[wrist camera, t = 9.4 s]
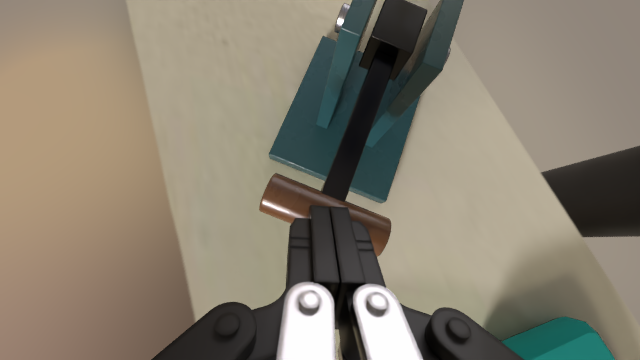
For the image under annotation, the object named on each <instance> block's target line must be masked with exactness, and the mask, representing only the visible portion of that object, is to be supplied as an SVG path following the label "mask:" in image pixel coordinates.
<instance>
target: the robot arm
mask: <svg viewBox="0 0 640 360" xmlns="http://www.w3.org/2000/svg"><path fill="white" fill-rule="evenodd" d="M335 329H339V334H340V344H339V348H338V357H339V360H524V359H523V358H522V357H520V356H519V355H518V354H516V353H515V352H514V351H512V350H511V349H510V348H509V347H507V346H506V345H505V344H503V343H502V342H501V341H499V340H498V339H497V338H496V337H494V336H493V335H492V334H490V333H489V332H488V331H486V330H485V329H484V328H483V327H481V326H480V325H479V324H477V323H476V322H475V321H473V320H472V319H471V318H469V317H468V316H467V315H465V314H464V313H462V312H460V311H458V310H456V309H452V308H439V309H437V310H436V311H435V312H434V313H433V315H429V314H426V313H423V312H419V311H416V310H413V309H411V308H408V307H406V306H404V305H402V304H401V303H399V301H398V299H397V298H396V296H395V295H394V294H393V293H392V292H391V291H390V290H388V289H387V288H386V285H385V282H384V279H383V276H382V273H381V269H380V266H379V263H378V260H377V257H376V253H375V252H374V247H373V244H372V240H371V237H370V234H369V231H368V229H367V228H366V227H365V226H364V225H363V223H362V222H361V221H351V217H350V213H349V209H348V207H333V206H329V207H328V206H316V205H310V206H309V213H308V218H297V217H296V218H295V220H294V221H293V223H292V224H291V225H290V232H289V244H288V255H287V274H286V289H285V291H284V293H283V294H282V296H281V297H280V298H279V299H278V300H276V301H275V302H273V303H271V304H269V305H267V306H264V307H260V308H257V309H254V310H251V309H250V308H249V307H248V306H246V305H244V304H242V303H238V302H228V303H223V304H221V305H218V306H216V307H214V308H213V309H212V310H210V311H209V312H208V313H207V314H205V315H204V316H203V317H202V318H201V319H199V320H198V321H197V322H196V323H195V324H193V325H192V326H191V327H190V328H189V329H187V330H186V331H185V332H184V333H183V334H181V335H180V336H179V337H178V338H177V339H175V340H174V341H173V342H172V343H171V344H169V345H168V346H167V347H166V348H165V349H164V350H162V351H161V352H160V353H159V354H157V355H156V356H155V357H154V358H153V359H151V360H336V347H335Z"/></svg>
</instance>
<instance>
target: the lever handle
mask: <svg viewBox="0 0 640 360" xmlns="http://www.w3.org/2000/svg"><path fill="white" fill-rule="evenodd" d="M426 14H427V10H426V9H424V8H422V7H419V6H417V5H415V4H412V3H410V2H408V1H405V0H385V1H384V4H383V6H382V9H381V11H380V14H379V16H378V19H377V21H376V23H375V26H374V28H373V31H372V33H371V36H370V38H369V41H368V43H367V46H366V48H365V51H364V53H363V56H362V58H361V61H360V63H359V67H362V68H364V69H367V70H368V71H367V74H366V76H365V79H364V81H363V84H362V87H361V89H360V92H359V94H358V97H357V99H356V102H355V105H354V107H353V110H352V112H351V115H350V117H349V120H348V122H347V125H346V128H345V130H344V133H343V135H342V138H341V140H340V143H339V146H338V148H337V151H336V153H335V156H334V158H333V161H332V163H331V166H330V169H329V171H328V174H327V176H326V179H325V181H324V184H323V187H322V189H321V191H319V190H317V189H314V188H312V187H309V186H307V185H304V184H302V183H299V182H297V181H294V180H292V179H289V178H287V177H284V176H282V175H279V174H277V173H275V174H274V175H273V176H272V177H271V179H270V181H269V183H268V185H267V187H266V189H265V192H264V194H263V197H262V200H261V203H260V208H259V210H260V211H261V212H263V213H266V214H268V215H271V216H273V217H276V218H278V219H281V220H283V221H286V222H289V223H291V224H292V223H293V221H294V220H295V218H296V217H297V218H308V213H309V206H310V205H316V206H328V207H329V206H333V207H348V209H349V213H350V217H351V221H361V222H362V223H363V225H364V226H365V227H366V228H367V229H368V231H369V234H370V237H371V240H372V244H373V247H374V252H375V253H376V257H377V256H379V255H380V254H381V253H382V251H383V250H384V248H385V246H386V244H387V242H388V239H389V236H390V232H391V221H390V219H389V218H386V217H384V216H381V215H379V214H376V213H374V212H371V211H369V210H366V209H364V208H361V207H359V206H356V205H354V204H351V203H349V202H347V201H345V200H346V197H347V194H348V191H349V189H350V186H351V183H352V180H353V178H354V175H355V172H356V169H357V167H358V164H359V161H360V158H361V156H362V153H363V150H364V147H365V144H366V142H367V139H368V136H369V133H370V131H371V128H372V125H373V122H374V120H375V117H376V114H377V111H378V109H379V106H380V103H381V100H382V98H383V95H384V92H385V89H386V87H387V84H388V81H389V79H390V80H393V81H394V80H395V79H396V78H397V76H398V75H399V73H400V72H401V70H402V69H403V67H404V66H405V64H406V63H407V61H408V60H409V58H410V57H411V55H412V54H413V52H414V49H415V46H416V43H417V40H418V37H419V34H420V31H421V29H422V26H423V23H424V20H425V17H426Z"/></svg>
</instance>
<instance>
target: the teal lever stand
mask: <svg viewBox="0 0 640 360" xmlns="http://www.w3.org/2000/svg"><path fill="white" fill-rule="evenodd" d="M463 1H464V0H440V1H439V3H438V5H437V6H436V8H435V9H434V11H433V12H432V14H431V16H430V17H429V19H428V20H427V22H426V23H425V25H424V27H423V28H422V30H421V31H420V34H419V37H418V40H417V43H416V46H415V49H414V52H413V54H412V55H411V57H410V58H409V60H408V61H407V63H406V64H405V66H404V67H403V69H402V70H401V72H400V73H399V75H398V76H397V78H396V79H395V80H394V81H393V80H390V79H389V81H388V84H387V87H386V89H385V92H384V95H383V98H382V100H381V103H380V106H379V109H378V111H377V114H376V117H375V120H374V122H373V125H372V128H371V131H370V133H369V136H368V139H367V142H366V144H365V147H364V150H363V153H362V156H361V158H360V161H359V164H358V167H357V169H356V172H355V175H354V178H353V180H352V183H351V186H350V189H349V191H352V192H354V193H357V194H359V195H361V196H364V197H366V198H369V199H371V200H374V201H376V202H379V203H383V202H386V200H387V197H388V194H389V191H390V187H391V184H392V181H393V178H394V175H395V172H396V169H397V166H398V163H399V160H400V157H401V153H402V150H403V147H404V144H405V141H406V138H407V135H408V132H409V129H410V126H411V123H412V119H413V116H414V113H415V110H416V107H417V104H418V101H419V98H420V95H421V93H422V92H423V91H424V90H425V89H426V88H427V87H428V86H429V85H430V83H431V82H432V81H433V80H434V79H435V78H436V77H437V76H438V75H439V74H440V72H441V71H442V70H443V67H444V65H445V63H446V61H447V59H448V57H449V54H450V50H451V49H450V48H449V47H450V44H451V41H452V37H453V34H454V31H455V28H456V24H457V21H458V18H459V14H460V11H461V8H462V5H463ZM376 2H377V0H352V3H351V5H349V4H346V3H344V4H343V6H342V8H341V10H340V13H339V15H338V18H337V21H336V25H335V32H337V33H339V36H338V40H337V42H336V41H334V40H332V39H329V38H327V37H325V36H323V37H322V39H321V41H320V43H319V45H318V48H317V50H316V52H315V54H314V56H313V59H312V61H311V63H310V65H309V67H308V69H307V72H306V74H305V76H304V78H303V80H302V83H301V85H300V87H299V89H298V91H297V93H296V96H295V98H294V100H293V102H292V104H291V107H290V109H289V111H288V113H287V115H286V118H285V120H284V122H283V124H282V126H281V128H280V131H279V133H278V135H277V137H276V139H275V142H274V144H273V146H272V148H271V150H270V153H269V157H270V159H272V160H275V161H277V162H280V163H282V164H285V165H287V166H290V167H292V168H295V169H297V170H300V171H302V172H305V173H307V174H310V175H312V176H314V177H317V178H319V179H322V180H324V181H325V179H326V176H327V174H328V171H329V169H330V166H331V163H332V161H333V158H334V156H335V153H336V151H337V148H338V146H339V143H340V140H341V138H342V135H343V133H344V130H345V128H346V125H347V122H348V120H349V117H350V115H351V112H352V110H353V107H354V105H355V102H356V99H357V97H358V94H359V92H360V89H361V87H362V84H363V81H364V79H365V76H366V74H367V71H368V70H367V69H364V68H362V67H359V63H360V61H361V58H362V56H363V52H360V51H358V50H359V47H360V44H361V42H362V39H363V36H364V34H365V31H366V28H367V26H368V23H369V20H370V18H371V15H372V12H373V10H374V7H375V4H376Z"/></svg>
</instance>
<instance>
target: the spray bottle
mask: <svg viewBox="0 0 640 360" xmlns="http://www.w3.org/2000/svg"><path fill="white" fill-rule="evenodd" d="M502 343H503V344H505V345H506V346H507V347H509V348H510V349H511V350H512V351H514V352H515V353H516V354H518V355H519V356H520V357H522V358H523V359H524V360H615V359H614V357H613V355H612V354H611V352H610V351H609V349H608V348H607V346H606V345H605V343H604V342H603V340H602V339H601V337H600V336H599V334H598V333H597V332H596V331H595V330H594V329H593V328H592V327H590V326H589V325H588V324H587V323H586V322H583V321H580V320H576V319H573V318H569V317H561V318H557V319H554V320H552V321H550V322H547V323H545V324H542V325H540V326H537V327H535V328H532V329H530V330H528V331H525V332H523V333H520V334H518V335H515V336H513V337H510V338H508V339H506V340H504V341H502Z"/></svg>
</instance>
